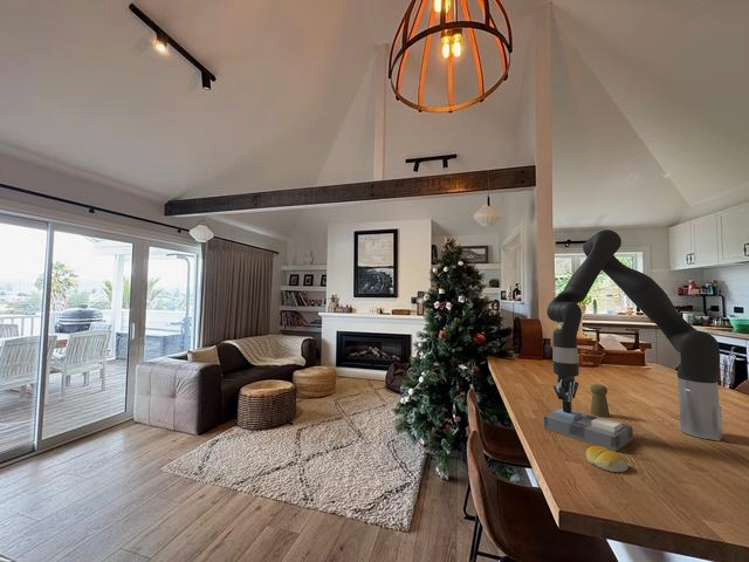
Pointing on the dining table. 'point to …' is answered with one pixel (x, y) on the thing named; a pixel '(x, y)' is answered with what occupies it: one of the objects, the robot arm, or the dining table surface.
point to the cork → (599, 401)
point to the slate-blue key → (568, 415)
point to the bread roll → (606, 459)
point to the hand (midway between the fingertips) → (567, 412)
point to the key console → (589, 431)
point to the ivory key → (606, 424)
